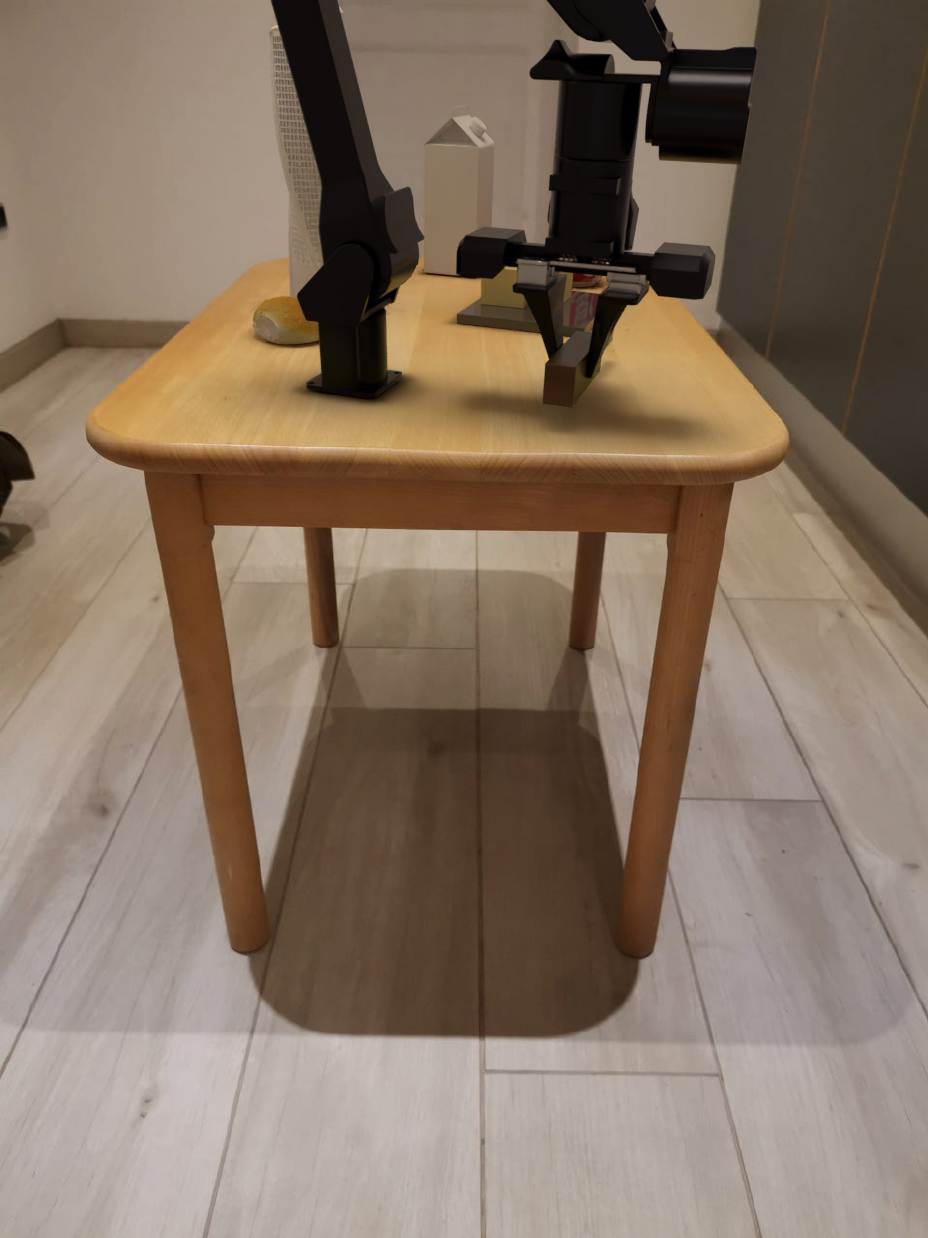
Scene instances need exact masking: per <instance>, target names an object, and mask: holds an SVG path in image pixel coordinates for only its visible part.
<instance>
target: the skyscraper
mask: <svg viewBox="0 0 928 1238" xmlns="http://www.w3.org/2000/svg"><path fill="white" fill-rule="evenodd" d="M339 8H340V12H341V16H342V20H343V21H344V18H345V17H344V16H345V12H344V11H343V9H342V8H341V7H340V6H339ZM276 32H279V29H278V25H277V24H275V25H273V26H272V27H271V29H270V30H269V32H268V48H269V49H268V50H269V54H268V55H269V74H270V75H269V76H270V89H271V90H270V91H271V92H270V93H271V104H272V112H273V123H274V130H275V137H276V143H277V148H278V154H279V157H280V163H281V166H282V167H281V168H282V172H283V175H284V180H285V183H286V187H287V192H288V194H289V195H288V232H287V233H288V234H287V235H288V236H287V237H288V275H289V278H288V279H289V297H295V296H297V293H298V292H299V291H300V290H301V289H302V288H303V287H304V286H305V284H306V283H307V282H308V281H309V280H310V279H311V278H312V277H313V276H314V275H315V273H316V272H317V271H318V270H319V269H320V268H321V267H322V266H323V259H322V251H321V244H320V237H319V229H318V224H319V211H320V198H321V181H320V176H319V172H318V169H317V165H316V161H315V158H314V154H313V151H312V147H311V143H310V140H309V136H308V133H307V129H306V126H305V122H304V118H303V115H302V111H301V108H300V104H299V100H298V97H297V93H296V90H295V86H294V83H293V79H292V75H291V72H290V68H289V65H288V61H287V57H286V54H285V50H284V47H283V43H282V40H281V36H280V34H279V35H275V34H274V33H276Z"/></svg>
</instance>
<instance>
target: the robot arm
mask: <svg viewBox="0 0 928 1238" xmlns="http://www.w3.org/2000/svg"><path fill="white" fill-rule="evenodd" d="M546 2H547V3H548V4H549V5H550V7H551V8H552V9H553V11H555V12H556V14H557V15H558V16H559V17H560V19H561V20H562V21H563V22H564V23H565V25H566V26H567V27H568V28H569V29H570V30H571V31H572V32H573V33H574V35H576V36H577V37H579V38H581V39H584V40H585V41H589V42H595V43H603V44H604V43H605V44H614V46H616V47H617V48H618V49H619V50H620V51H621V52H622V53H624V54H625V55H626V56H627V57H628V58H629V59H630V60H632V61H635V62H658V63H659V64H660V70H659V73H658V74H657V73H632V72H616V64H615V58H614V57H615V56H614V55H613V54H612V53H596V52H595V53H593V52H573V51H572V50H571V49H570V47H569V46H568V44H567V42H566V41H565V39H554V40H553V41H552V43H551V45H550V47H549V49H548V51H547V52H546V53H545V54H544V55H543V56H542V58H541V59H539V60H538V61H537V62H536V63H535V64H534V65H533V66H531V68H530V69H529V73H528V74H529V77H530V79H531V80H534V81H556V82H557V81H558V88H557V90H558V91H557V102H556V103H557V104H556V117H555V133H554V144H553V145H554V147H553V160H552V173H551V174H549V179H548V192H550V197H549V198H550V199H549V202H548V209H547V223H548V230H547V231H548V232H547V236H546V237H545V239H544V243H538V242H528V240H527V235H526V231H525V229H519V228H518V229H517V228H516V229H515V228H507V227H493V226H491V227H482V228H480V229H478V230H476V231H474V232H471V233H469V234H467V235H465V236H464V238H463V239H462V240H461V241H460V242H459V245H458V248H457V256H456V274H458V275H460V276H459V277H466V278H475V279H476V278H477V279H481V278H486V279H493V278H495V277H496V276H497V275H498V274H499V273H500V272H501V271H502V270H503V269H504V268H505V267H515V268H517V279H516V283H515V284H513V286H512V291H513V292H514V293H517V294H522V295H523V296H524V297H525V299H526V302H527V304H528V306H529V308H530V310H531V312H532V314H533V317H534V319H535V321H536V323H537V325H538V328H539V331H540V333H539V334H540V336H541V339H542V342H543V345H544V348H545V352H546V355H547V358H548V360H549V359H550V358H551V357H552V356H553V355H554V354H555V353H556V352H557V351H558V350H559V349H560V348H561V346H562V345H563V344H564V343H565V341H564V339H565V338H564V337H565V336H564V333H563V301H564V293H565V287H566V280H567V275H566V274H558V273H560V272H566V273H577V274H587V275H597V276H602V277H606V283H607V286H606V287H605V288H604V289H603V290H602V291H601V292H600V293H599V295H598V300H597V305H596V311H595V317H594V323H593V328H592V329H591V330H592V335H591V341H590V347H589V352H588V358H587V378H592V377H593V376H594V374H595V372H596V369H597V367H598V365H599V362H600V360H601V361H602V359H601V358H602V357H603V355H604V353H605V351H606V349H607V348H606V346H607V344H608V341H609V339H610V337H611V334H612V332H613V333H614V330H615V328H616V326H617V324H618V322H619V320H620V318H621V317H622V315H623V314H624V312H625V310H626V308H627V307H628V306H637V305H639V304H640V303H641V302H642V301H643V299H644V298H645V297H646V295H647V294H648V293H649V291H650V287H651V289H652V290H653V291H654V293H655V294H656V296H657V297H663V298H673V299H681V300H690V301H691V300H692V301H697V300H704V298H705V297H706V296H707V293H708V291H709V289H710V288H711V286H712V283H713V276H714V272H715V271H714V270H715V265H716V256H717V255H716V253H715V252H714V250H713V248H711V246H710V245H704V244H692V243H680V242H679V243H678V242H668V241H664V242H663V243H662V244H661V245H660V246H659V247H658V248H657V249H656V250H655V251H654V252H653V253H652V252H651V253H650V252H637V251H632V250H633V248H634V242H635V237H636V232H637V231H636V230H637V224H638V219H639V214H640V207H639V206H638V203H637V202H636V199H635V198H634V195H633V183H634V182H633V180H634V179H633V176H634V168H635V167H634V166H635V158H636V148H637V140H638V131H639V130H638V129H639V121H640V113H641V105H642V95H643V86H644V85H650V87H649V95H648V101H647V109H646V115H645V127H644V142H645V144H650V145H651V147H658V160H659V161H663V162H665V161H666V162H681V163H699V164H716V165H717V164H718V165H735V166H738V165H739V166H742V164H743V163H742V162H743V158H744V153H745V148H746V142H747V138H748V133H749V126H750V120H751V114H752V109H753V102H751V96H752V91H753V85H754V78H755V71H756V70H755V69H756V65H757V61H758V60H757V59H758V52H759V51H758V49H757V47H755V46H734V47H733V46H732V47H729V48H725V49H708V48H707V49H705V48H704V49H703V48H678V47H677V45H676V43H675V41H674V32H673V31H669V29H668V27H667V25H666V23H665V22H664V20H663V17H662V15H661V13H660V11H659V9H658V7H657V5H656V3H657V0H546ZM270 4H271V7H272V10H273V14H274V18H275V21H276V25H278V29H279V31H278V32H279V35H280V36H281V40H282V43H283V47H284V50H285V54H286V57H287V61H288V65H289V68H290V72H291V75H292V79H293V83H294V86H295V90H296V93H297V97H298V100H299V104H300V108H301V111H302V115H303V118H304V122H305V126H306V129H307V133H308V136H309V140H310V143H311V147H312V151H313V154H314V158H315V161H316V165H317V169H318V172H319V176H320V181H321V198H320V211H319V224H318V229H319V237H320V244H321V251H322V259H323V266H322V267H321V268H320V269H319V270H318V271H317V272H316V273H315V275H314V276H313V277H312V278H311V279H310V280H309V281H308V282H307V283H306V284H305V286H304V287H303V288H302V289H301V290H300V291H299V292H298V293H297V299H298V302H299V304H300V307H301V310H302V312H303V315H304V317H305V319H306V320H307V321H313V322H318V332H319V340H318V346H319V360H320V361H319V362H320V373H319V374H318V375H316V376H314V377H313V378H311V379H310V380H308V381H306V382H305V388H306V389H307V390H311V391H317V392H323V393H324V392H325V393H331V394H337V395H338V394H339V395H344V396H350V397H351V396H352V397H358V398H359V397H360V398H366V399H374V398H377V397H378V396H379V395H381V394H383V392H385V391H387V390H388V389H389V388H391V387H392V386H393V385H394V384H396V383H397V382H400V380H402V379H403V372H402V371H399V370H391V369H389V367H388V366H389V365H388V333H387V332H388V331H387V328H388V327H387V310H386V307H387V306H388V305H392V304H394V303H396V300H397V298H398V294H399V291H400V288H401V286H402V285H404V284H405V283H406V282H407V281H409V279H410V278H412V276H413V275H414V272H415V271H416V268H417V266H418V265H419V261H420V247H419V243H420V242H422V241H424V233H423V232H422V230H421V229H420V227H419V225H418V223H417V219H416V214H415V202H414V195H413V192H412V188H411V187H410V186H405V187H402V188H399V189H396V190H394V187H392V185H391V184H390V182H389V180H388V179H387V177H386V176H385V174H384V173H383V171H382V169H381V167H380V164H379V161H378V157H377V153H376V149H375V145H374V141H373V138H372V132H371V128H370V125H369V121H368V118H367V113H366V109H365V105H364V101H363V97H362V94H361V89H360V85H359V80H358V76H357V73H356V70H355V65H354V61H353V57H352V52H351V49H350V45H349V40H348V36H347V33H346V29H345V25H344V24H345V23H344V19H343V20H342V16H341V12H340V8H341V7H340V5H339V0H270ZM339 7H340V8H339ZM561 258H563V259H561ZM565 259H568V260H565ZM570 259H573V260H570ZM575 260H576V261H575ZM592 261H593V262H592ZM596 262H598V263H596ZM601 262H603V263H601ZM458 275H457V276H458ZM607 347H608V346H607ZM605 348H606V349H605Z"/></svg>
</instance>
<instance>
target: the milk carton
mask: <svg viewBox="0 0 928 1238" xmlns="http://www.w3.org/2000/svg"><path fill="white" fill-rule="evenodd" d="M487 130H488V128H487V126H486V124H485V123H484V122H483V121H482V120H481V119H480V118H478V117H477V116H473V117H472V116H471V114H470V104H463V105H457V106H451V107H450V118H449V119H448V120H447V121H446V122H444V124H442V126H441V127H440V128H439V129H437V131H436V132H435V133H433V134H432V135H431V137H429V139H427V141H425V142H424V143H423V235H424V240H423V273H426V274H427V273H428V274H436V275H437V274H438V275H447V276H448V275H449V276H458V277H461V276H460V275H458V274H456V256H457V248H458V245H459V242H460V241H461V240H462V239H463V238H464V236H465V235H467V234H469V233H471V232H474V231H476V230H478V229H480V228H482V227H492V222H493V197H494V196H493V195H494V169H495V141H494V140H493V139H492V138H491V137H490V136H489V134H488V133H487Z"/></svg>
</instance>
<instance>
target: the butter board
mask: <svg viewBox="0 0 928 1238" xmlns="http://www.w3.org/2000/svg"><path fill="white" fill-rule="evenodd" d="M599 294H600V293H599V292H598V293H597V292H588V291H579V290H578V291H577V290H572V292H571V297H570V298H569V299H568V300H567V301H565V302H564V303H563V333H564V337H571V336H572V335H573V334H574V333H575V332H576V331H583V332H590V331H591V330H592V329H593V323H594V317H595V311H596V305H597V300H598V295H599ZM456 324H462V325H471V326H477V327H479V326H480V327H486V328H487V327H488V328H496V329H505V330H513V331H521V332H531V333H538V334H540V331H539V328H538V325H537V323H536V321H535V319H534V317H533V314H532V312H531V310H530V308H529V306H526V307H525V308H524V309H520V308H511V307H502V306H493V305H484V304H481V297H480V298H478V299H477V300H475V301H473V303H471V304H469V305H468V306H466V307H464V308H463V309H462V310H461V311H459V312H457V314H456Z"/></svg>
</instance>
